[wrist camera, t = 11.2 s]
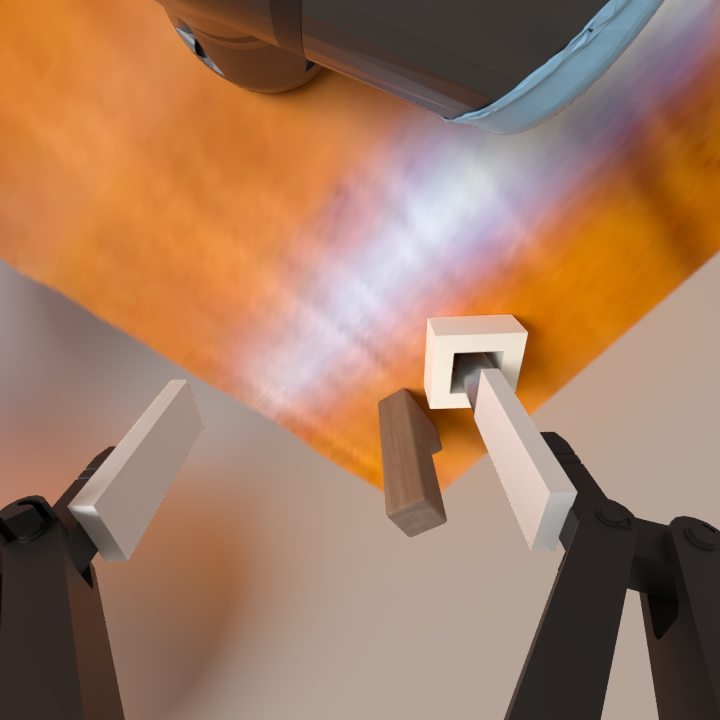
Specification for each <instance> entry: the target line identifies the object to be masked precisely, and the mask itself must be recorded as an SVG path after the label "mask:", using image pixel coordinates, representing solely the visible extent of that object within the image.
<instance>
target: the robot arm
mask: <svg viewBox="0 0 720 720" xmlns="http://www.w3.org/2000/svg"><path fill="white" fill-rule="evenodd" d="M155 1H157V2H158V3H159V4H161V5H162V6H164V9H165V11H166V13H167V15H168V17H169V19H170V20H171V22H172V24H173V26H174V27H175V29H176V30H177V32H178V34H179V35H180V37H181V38H182V39H183V41H184V42H185V43H186V45H187V46H188V47H189V48H190V50H191V51H192V52H193V53H194V54H195V55H196V56H197V57H198V58H199V59H200V60H201V61H202V62H203V63H204V64H205V65H206V66H207V67H208V68H210V69H211V70H212V71H213V72H215V73H216V74H218V75H219V76H221V77H222V78H224V79H226V80H228V81H229V82H231V83H233V84H235V85H237V86H239V87H241V88H244V89H247V90H250V91H254V92H259V93H282V92H287V91H290V90H293V89H296V88H298V87H300V86H302V85H304V84H305V83H307V82H309V81H310V80H311V79H313V78H314V77H315V76H316V75H317V74H319V73H320V72H321V70H322V69H323V68H324V67H327V68H329V69H331V70H334V71H336V72H339V73H341V74H343V75H346V76H348V77H351V78H353V79H355V80H358V81H360V82H363V83H365V84H367V85H370V86H372V87H375V88H377V89H379V90H382V91H384V92H387V93H389V94H391V95H394V96H396V97H399V98H401V99H403V100H406V101H408V102H411V103H413V104H415V105H418V106H420V107H423V108H425V109H427V110H430V111H432V112H435V113H436V115H437V116H438V117H439V118H441V119H443V120H444V121H446V122H453V123H455V124H461V123H466V124H468V125H471V126H474V127H477V128H480V129H483V130H486V131H489V132H491V133H495V134H515V133H520V132H523V131H526V130H528V129H531V128H534V127H536V126H538V125H540V124H542V123H543V122H545V121H547V120H548V119H550V118H551V117H553V116H554V115H556V114H557V113H559V112H560V111H562V110H563V109H564V108H566V107H567V106H568V105H569V104H571V103H572V102H573V101H574V100H575V99H577V98H578V97H579V96H580V95H581V94H582V93H583V92H585V91H586V90H587V89H588V88H589V87H590V86H591V85H592V84H593V83H594V82H595V81H596V80H597V79H598V78H599V77H600V76H601V75H602V74H603V73H604V72H605V71H606V70H607V69H608V68H609V67H610V66H611V65H612V64H613V63H614V62H615V61H616V60H617V59H618V57H619V56H620V55H621V54H622V53H623V52H624V51H625V50H626V49H627V47H628V46H629V45H630V44H631V43H632V42H633V40H634V39H635V38H636V37H637V36H638V34H639V33H640V32H641V30H642V29H643V28H644V27H645V25H646V24H647V23H648V22H649V20H650V19H651V18H652V16H653V15H654V14H655V12H656V11H657V10H658V8H659V7H660V6H661V4H662V3H663V2H664V0H155ZM474 419H475V422H476V424H477V426H478V429H479V431H480V433H481V436H482V438H483V440H484V443H485V445H486V447H487V450H488V452H489V454H490V457H491V459H492V461H493V464H494V466H495V468H496V471H497V473H498V475H499V478H500V480H501V482H502V485H503V487H504V489H505V492H506V494H507V496H508V499H509V501H510V504H511V506H512V508H513V511H514V513H515V515H516V517H517V520H518V522H519V524H520V527H521V529H522V532H523V534H524V536H525V539H526V541H527V543H528V545H529V548H530V550H531V551H545V550H555V548H556V546H557V543H558V541H559V539H560V541H561V543H562V545H563V547H564V549H565V551H566V552H565V554H564V556H563V559H562V561H561V564H560V566H559V568H558V573H557V576H556V578H555V581H554V584H553V587H552V589H551V592H550V595H549V598H548V600H547V603H546V606H545V609H544V611H543V614H542V617H541V619H540V622H539V625H538V628H537V630H536V633H535V636H534V639H533V641H532V644H531V647H530V650H529V653H528V655H527V658H526V660H525V664H524V666H523V669H522V671H521V674H520V677H519V680H518V682H517V685H516V688H515V690H514V693H513V696H512V699H511V701H510V704H509V707H508V710H507V713H506V715H505V718H504V720H601V715H602V710H603V704H604V700H605V694H606V690H607V685H608V680H609V675H610V670H611V665H612V660H613V655H614V650H615V645H616V640H617V635H618V629H619V625H620V620H621V615H622V610H623V605H624V600H625V595H626V590H627V588H628V589H631V590H635V591H638V592H639V593H640V600H641V605H642V613H643V619H644V625H645V632H646V638H647V645H648V651H649V658H650V664H651V670H652V677H653V684H654V690H655V696H656V703H657V709H658V716H659V720H720V531H719V530H718V529H716V528H714V527H713V526H711V525H710V524H708V523H706V522H704V521H701V520H698V519H696V518H692V517H686V516H681V517H676V518H675V519H674V520H672V521H671V523H670V524H669V526H668V525H664V524H659V523H655V522H651V521H647V520H642V519H639V518H636V517H634V515H633V514H632V513H631V512H630V511H629V510H628V509H627V508H626V507H624V506H622V505H621V504H619V503H617V502H616V501H613V500H610V499H607V497H606V496H605V494H604V493H603V492H602V490H601V489H600V487H599V486H598V485H597V483H596V482H595V480H594V479H593V478H592V476H591V475H590V473H589V472H588V471H587V469H586V468H585V466H584V465H583V464H581V461H580V459H579V458H578V456H577V455H575V453H574V451H573V450H572V448H571V447H570V445H569V444H568V442H566V440H564V439H563V438H562V437H560V436H559V435H558V434H556V433H555V432H539V431H538V429H537V428H536V426H535V425H534V423H533V422H532V420H531V418H530V417H529V415H528V414H527V412H526V411H525V409H524V407H523V406H522V404H521V403H520V401H519V400H518V398H517V396H516V395H515V393H514V392H513V390H512V389H511V387H510V385H509V384H508V382H507V381H506V379H505V378H504V376H503V374H502V373H501V371H500V370H499V369H481V375H480V381H479V388H478V395H477V401H476V408H475V414H474ZM203 427H204V426H203V423H202V420H201V417H200V414H199V411H198V408H197V405H196V402H195V399H194V396H193V393H192V390H191V387H190V384H189V381H188V380H171V381H170V382H169V383H168V384H167V386H166V387H165V388H164V389H163V391H162V392H161V393H160V394H159V395H158V397H157V398H156V399H155V400H154V401H153V403H152V404H151V405H150V406H149V408H148V409H147V410H146V411H145V413H144V414H143V415H142V416H141V417H140V419H139V420H138V421H137V422H136V423H135V425H134V426H133V427H132V428H131V430H130V431H129V432H128V433H127V434H126V436H125V437H124V438H123V439H122V441H121V442H120V443H119V444H118V445H117V446H114V447H108V448H107V449H106V450H104V451H103V452H102V453H100V454H99V455H97V456H96V457H95V458H94V459H93V460H92V462H91V463H90V464H89V465H88V466H87V468H86V470H84V471H83V472H82V473H81V474H80V476H79V477H78V480H75V481H74V482H73V484H72V485H71V486H70V487H69V488H68V489H67V491H66V492H65V493H64V494H63V495H62V496H61V498H60V499H59V500H58V501H57V502H56V504H55V505H54V506H53V507H52V508H51V506H50V505H49V504H48V502H47V501H46V500H45V498H44V497H42V496H38V495H35V496H28V497H25V498H22V499H19V500H17V501H15V502H13V503H11V504H9V505H7V506H6V507H4V508H3V509H2V510H1V511H0V720H125V718H124V713H123V708H122V703H121V698H120V693H119V688H118V683H117V678H116V673H115V668H114V663H113V658H112V653H111V648H110V643H109V638H108V633H107V628H106V622H105V617H104V612H103V608H102V602H101V597H100V592H99V588H98V582H97V577H96V572H95V568H94V566H93V564H92V563H91V561H92V559H93V557H94V556H95V554H96V553H97V551H98V552H99V553H100V555H101V556H102V558H103V559H104V560H105V561H128V560H129V558H130V557H131V555H132V553H133V551H134V549H135V548H136V546H137V544H138V543H139V541H140V539H141V537H142V535H143V534H144V532H145V530H146V528H147V527H148V525H149V523H150V521H151V519H152V518H153V516H154V514H155V512H156V510H157V509H158V507H159V505H160V504H161V502H162V500H163V498H164V496H165V495H166V493H167V491H168V489H169V488H170V486H171V484H172V482H173V480H174V479H175V477H176V475H177V473H178V472H179V470H180V468H181V466H182V464H183V463H184V461H185V459H186V457H187V456H188V454H189V452H190V450H191V448H192V447H193V445H194V443H195V441H196V440H197V438H198V436H199V434H200V432H201V431H202V429H203Z"/></svg>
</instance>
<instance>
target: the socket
mask: <svg viewBox="0 0 720 720" xmlns="http://www.w3.org/2000/svg"><path fill="white" fill-rule="evenodd" d="M527 336H528V332H527V331H526V330H525V329H524V327H523V326H522V325H521V324H520V323H519V322H518V321H517V320H516V319H515V318H514V317H513V316H512V314H505V315H479V316H452V317H428V323H427V340H426V357H425V374H424V388H425V392H426V396H427V399H428V403H429V407H430V409H444V408H472V407H471V405H470V403H469V401H468V398H467V396H466V394H465V391H464V389H463V387H462V384H461V382H460V380H459V378H458V375H457V373H456V371H452V366H453V357H454V353H464V352H487V355H486V356H487V357H488V359H489V361H490V362H491V364H492V366H493V367H494V369H499V370H500V371H501V373H502V374H503V376H504V378H505V379H506V381H507V382H508V384H509V385H510V387H511V389H512V390H513V392H514V393H515V391H516V386H517V382H518V377H519V373H520V368H521V363H522V359H523V354H524V349H525V345H526V340H527Z"/></svg>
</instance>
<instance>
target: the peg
mask: <svg viewBox="0 0 720 720" xmlns="http://www.w3.org/2000/svg"><path fill="white" fill-rule="evenodd" d="M453 366H454V368H455V371H456V373H457V375H458V378H459V380H460V382H461V384H462V387H463V389H464V391H465V394H466V396H467V398H468V401H469V403H470V405H471V407H472V410H473V412H474V414H475V408H476V401H477V395H478V388H479V381H480V375H481V369H494V367H493V366H492V364H491V362H490V361H489V359H488V357H487V356H486V354H485V353H484V352H464V353H454V357H453Z"/></svg>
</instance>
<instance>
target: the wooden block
mask: <svg viewBox="0 0 720 720" xmlns="http://www.w3.org/2000/svg"><path fill="white" fill-rule="evenodd" d="M378 407H379V420H380V434H381V448H382V462H383V476H384V490H385V504H386V514H387V516H388V518H390V519H391V520H392V521H393V522H394V523H395V524H396V525H397V526H398V527H399V528H400V529H401V530H402V531H403V532H404V533H405V534H407V536H409V537H412V536H415V535H417V534H420V533H422V532H425V531H427V530H429V529H432V528H434V527H437V526H439V525H441V524H444V523H445V522H446V521H447V519H446V514H445V510H444V506H443V501H442V497H441V493H440V488H439V484H438V480H437V476H436V471H435V467H434V463H433V459H432V455H433V454H435V453H437V452H439V451H441V450H442V446H441V442H440V438H439V435H438V431H437V428H436V427H435V425H434V424H433V423H432V422H431V420H430V419H429V418H428V417H427V415H426V414H425V413H424V412H423V410H422V409H421V408H420V407H419V405H418V404H417V403H416V402H415V400H414V399H413V398H412V396H411V395H410V394H409V393H408V391H407V390H406V389H402V390H400V391H398V392H396V393H395V394H393V395H391V396H389V397H387V398H386V399H384V400H382V401H380V402H379V404H378Z"/></svg>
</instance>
